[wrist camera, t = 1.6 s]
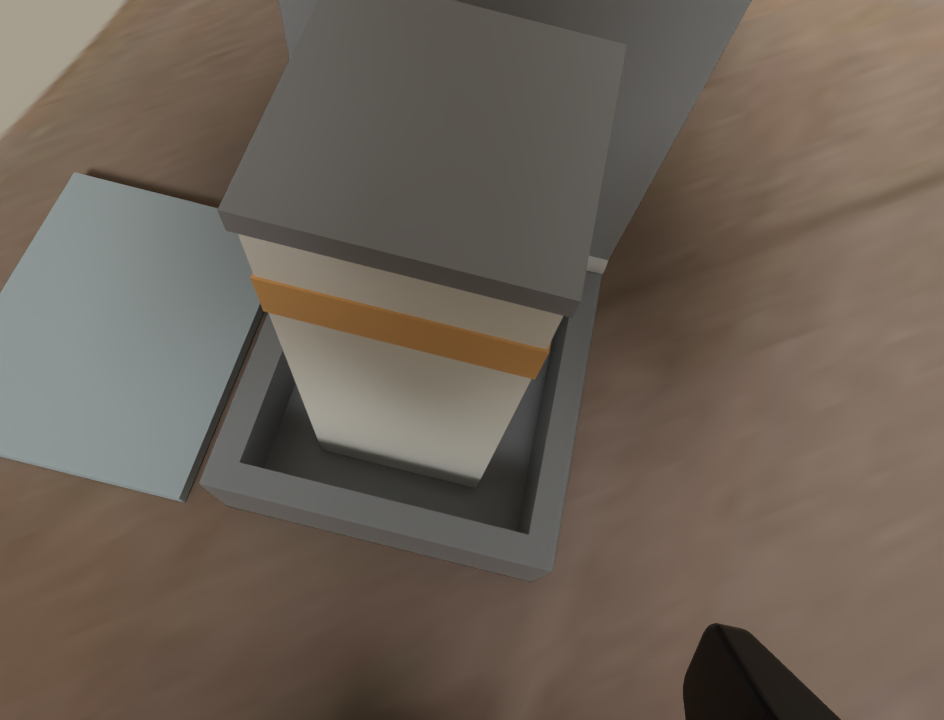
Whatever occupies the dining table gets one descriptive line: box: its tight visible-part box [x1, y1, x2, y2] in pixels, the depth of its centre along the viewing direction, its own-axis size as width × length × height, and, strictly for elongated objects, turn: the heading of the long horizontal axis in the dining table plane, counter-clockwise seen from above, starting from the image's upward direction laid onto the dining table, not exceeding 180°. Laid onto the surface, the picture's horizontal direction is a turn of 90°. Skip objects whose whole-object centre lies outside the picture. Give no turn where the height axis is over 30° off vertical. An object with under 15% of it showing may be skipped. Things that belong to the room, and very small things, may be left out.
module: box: [217, 0, 627, 488], centre depth 16 cm, size 5×5×12 cm
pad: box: [0, 172, 264, 503], centre depth 22 cm, size 10×8×1 cm
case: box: [199, 0, 752, 582], centre depth 16 cm, size 10×10×13 cm
